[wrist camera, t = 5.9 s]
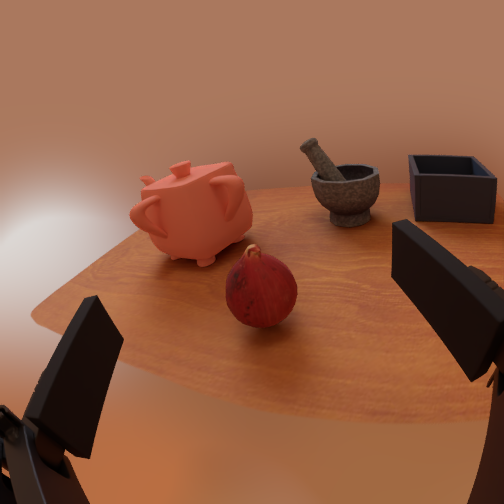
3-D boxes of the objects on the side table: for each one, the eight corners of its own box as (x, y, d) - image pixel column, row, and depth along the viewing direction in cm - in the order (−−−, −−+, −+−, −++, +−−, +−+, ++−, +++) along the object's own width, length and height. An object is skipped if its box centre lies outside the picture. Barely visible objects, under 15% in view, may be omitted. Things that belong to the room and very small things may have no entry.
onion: (258, 358, 22) (230, 278, 18) (228, 323, 27) (201, 250, 23) (315, 323, 24) (302, 242, 20) (279, 295, 29) (261, 222, 25)
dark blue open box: (473, 192, 38) (473, 156, 35) (493, 223, 28) (497, 178, 25) (410, 190, 44) (408, 154, 41) (415, 221, 35) (414, 175, 32)
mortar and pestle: (389, 208, 40) (382, 130, 34) (372, 236, 34) (364, 141, 28) (325, 203, 47) (313, 133, 41) (298, 227, 41) (282, 146, 36)
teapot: (267, 255, 36) (242, 152, 30) (150, 289, 35) (109, 195, 29) (246, 214, 51) (227, 142, 45) (162, 239, 50) (138, 171, 44)
